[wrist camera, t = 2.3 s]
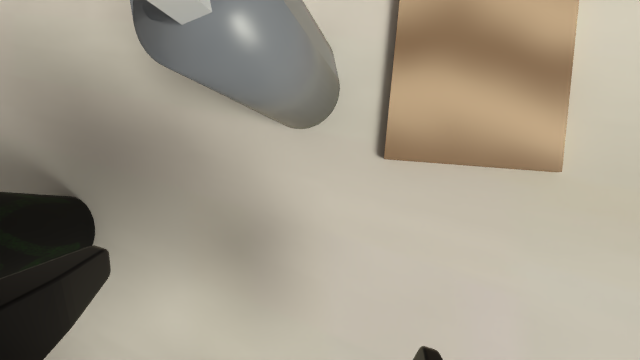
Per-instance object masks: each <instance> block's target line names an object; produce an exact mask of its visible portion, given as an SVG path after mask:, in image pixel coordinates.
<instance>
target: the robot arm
mask: <svg viewBox="0 0 640 360" xmlns="http://www.w3.org/2000/svg"><path fill="white" fill-rule="evenodd" d="M110 271H111V269H110V259H109V252H108V251H107V250H106V249H104V248H101V247H97V246H89V247H86V248H84V249H81V250H78V251H75V252H73V253H70V254H67V255H64V256H61V257H59V258H56V259H53V260H50V261H48V262H45V263H42V264H39V265H37V266H34V267H31V268H28V269H26V270H23V271H20V272H17V273H15V274H12V275H9V276H6V277H3V278H1V279H0V360H43V359H44V358H45V357H46V356H47V355H48V354H49V353H50V351H51V350H52V349H53V348H54V347H55V346H56V345H57V344H58V342H59V341H60V340H61V339H62V338H63V337H64V336H65V334H66V333H67V332H68V331H69V330H70V329H71V327H72V326H73V325H74V324H75V322H76V321H77V320H78V318H79V317H80V316H81V314H82V313H83V312H84V310H85V309H86V307H87V306H88V305H89V303H90V302H91V301H92V299H93V298H94V297H95V295H96V294H97V293H98V291H99V290H100V288H101V287H102V286H103V284H104V283H105V282H106V280H107V279H108V277H109V275H110ZM413 360H443V359H442V357H441V355H440V354H439V352H438V351H437V350H435V349H432V348H428V347H425V346H422V347H420V349H419V350H418V352H417V354H416V355H415V357H414V359H413Z"/></svg>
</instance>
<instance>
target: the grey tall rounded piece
mask: <svg viewBox="0 0 640 360" xmlns="http://www.w3.org/2000/svg"><path fill="white" fill-rule="evenodd" d="M130 3H131V9H132V15H133V21H134V26H135V30H136V33H137V36H138V39H139V41H140V43H141V45H142V46H143V48H144V49H145V51H146V52H147V53H148V54H149V55H150V56H151V57H152V58H153V59H154V60H155V61H156V62H158V63H159V64H161V65H163V66H165V67H167V68H169V69H171V70H173V71H175V72H177V73H179V74H181V75H183V76H185V77H187V78H189V79H191V80H193V81H196V82H198V83H200V84H202V85H204V86H206V87H208V88H210V89H212V90H214V91H216V92H218V93H220V94H222V95H224V96H226V97H228V98H230V99H232V100H235V101H237V102H239V103H241V104H243V105H245V106H247V107H249V108H251V109H253V110H255V111H257V112H259V113H261V114H263V115H265V116H267V117H269V118H271V119H274V120H276V121H278V122H280V123H282V124H284V125H286V126H288V127H291V128H295V129H306V128H310V127H313V126H315V125H317V124H319V123H321V122H322V121H324V120H325V119H326V118H327V117H328V116H329V115H330V114H331V112H332V111H333V109H334V107H335V105H336V103H337V101H338V97H339V90H340V84H339V78H338V74H337V69H336V64H335V60H334V55H333V52H332V49H331V47H330V45H329V44H328V42H327V40H326V39H325V37H324V35H323V34H322V32H321V30H320V29H319V27H318V25H317V24H316V22H315V20H314V19H313V17H312V15H311V14H310V12H309V10H308V9H307V7H306V5H305V4H304V2H303V0H130Z"/></svg>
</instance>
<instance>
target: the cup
mask: <svg viewBox="0 0 640 360" xmlns="http://www.w3.org/2000/svg"><path fill="white" fill-rule="evenodd" d="M94 236H95V226H94V220H93V217H92V215H91V212H90V210H89V209H88V207H87V206H86V205H85V204H84V203H83V202H82V201H81V200H79V199H77V198H75V197H68V196H53V195H38V194H23V193H8V192H0V279H1V278H3V277H6V276H9V275H12V274H15V273H17V272H20V271H23V270H26V269H28V268H31V267H34V266H37V265H39V264H42V263H45V262H48V261H50V260H53V259H56V258H59V257H61V256H64V255H67V254H70V253H73V252H75V251H78V250H81V249H84V248H86V247H89V246H92V245H93V241H94Z"/></svg>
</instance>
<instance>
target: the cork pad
mask: <svg viewBox="0 0 640 360" xmlns="http://www.w3.org/2000/svg"><path fill="white" fill-rule="evenodd" d="M578 6H579V0H400V1H399V11H398V21H397V31H396V41H395V51H394V61H393V71H392V82H391V92H390V102H389V112H388V122H387V132H386V142H385V152H384V159H390V160H403V161H416V162H429V163H442V164H456V165H469V166H482V167H495V168H508V169H521V170H535V171H548V172H562V166H563V156H564V146H565V136H566V126H567V116H568V106H569V96H570V86H571V76H572V66H573V56H574V46H575V36H576V26H577V16H578Z"/></svg>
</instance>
